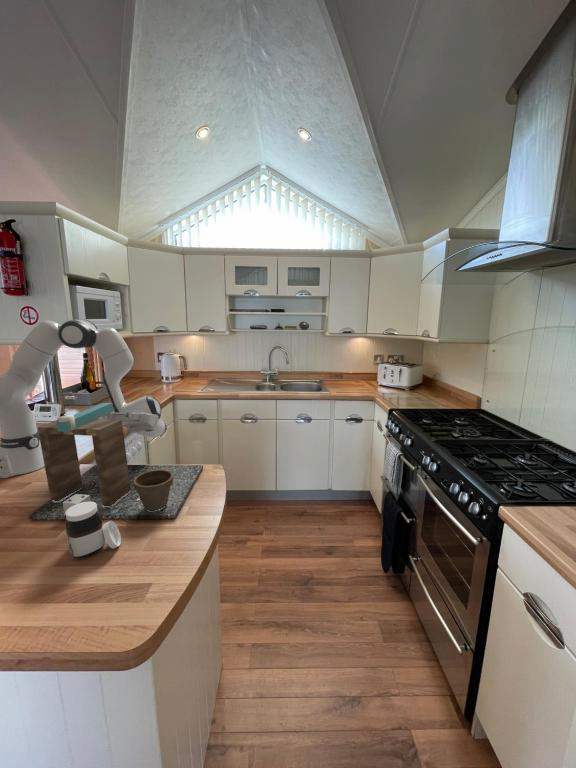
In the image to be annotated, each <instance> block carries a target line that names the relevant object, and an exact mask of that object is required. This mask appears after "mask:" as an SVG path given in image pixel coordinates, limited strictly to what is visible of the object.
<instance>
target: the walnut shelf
mask: <svg viewBox="0 0 576 768" xmlns="http://www.w3.org/2000/svg"><path fill="white" fill-rule="evenodd" d="M57 421H59V419H57V420H56V419H55V420H54V421H51V422H48V423H46V424H42V425H40V426H38V427H37V431H38V432H39V438H40V440H39V441H40V443H41V449H42V454H43V460H44V465H45V466H44V471H45V476H46V480H47V482H46V483H47V487H48V491H49V498H50V502H51V501H52V500H55V501H59V500H61V499H62V498H64V497H66V496H68V495H69V494H71V493H73V492H75V491H77V490H79V489H80V488H82V487H83V479H82V475H81V466H79V464H80V461H79V456H78V455H79V453H78V449H77V443H76V438H75V437H76V436H89V437H90V436H91V439H92V440H91V441H92V447H93V452H94V458H95V459H94V460H95V465H96V471H97V479H98V487H99V492H100V500H101V505H104V506H111V505H112V504H114V503H115V502H116V501H117V500H118V499H120V498H121V497H122V496H124V495H125V494H126V493H128V492H129V491H130V490H131V491H132V489H131V487H132V486H131V482H130V481H131V480H130V474H129V473H130V472H129V466H128V465H129V464H128V457H127V449H126V443H125V435H124V426H123V425H122V420H117V419H102V418H97V419H95V420H93V421H91V422H89V423H87V424H85V425H82V426H80V427H78V428H76V429H74V430H72V431H69V432H58V429H57V423H56V422H57ZM83 488H84V487H83Z"/></svg>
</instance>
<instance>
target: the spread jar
mask: <svg viewBox="0 0 576 768" xmlns="http://www.w3.org/2000/svg"><path fill="white" fill-rule="evenodd" d="M65 515H66V518H65V521H64V527H65V534H66V540H67V544H68V545H67V546H68V549H69V550H68V551H69V553H70V555H71V557H73V558H74V559H77V560H79V559H80V560H81V559H86V558H89V557H92V556H93V555H94V556H95V554H97V553H99V552H100V551H101V550H102V549H103V548H104V547H105V544H107V546H108V547H109V548H110V549H116V548H117V547H120V546H121V543H122V537H121V533H120V530H119V527H118V526H117V524H116V523H115V522H114V521H113V520H109V521H107V522H105V523H104V524H103V521H102V516H101V514H100V513H99V511H98V504H97V502H94V501H91V502H82V503H79V504H76V505H74V506H72V507H70V508H69V509H68V510H67V511H66V512H65V513H64V516H65Z"/></svg>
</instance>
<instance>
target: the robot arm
mask: <svg viewBox="0 0 576 768" xmlns="http://www.w3.org/2000/svg"><path fill="white" fill-rule="evenodd" d="M64 345H65V346H66V347H68V348H71V349H85V348H94V349H95V350H96V351H97V353H98V354H99V356H100V358H101V359H102V362H103V365H104V371H103V374H102V378H103V382H104V387H105V388H106V392H107V393H108V394H107V395H108V396H109V399H110V403H113V410H114V411H113V412H110V413H108V414H106V415H104V416H102V417H101V419H117V420H122V426H123V427H125V428H126V430H127V431H129V432H130V433H133V434H136V435H141V436H143V437H147V438H152V439H155V438H158V437H160V436H162V435H163V434H164V432H165V430H166V425H165V422H164V421H163V420H162V418H161V416H162V407H161V403H160V402H159V400H158V399H157V398H155V397H154V396H152V395H149V394H148V395H144V396H142V397H139V398H137V399H135V400H133V401H130V402H126V401H125V398H124V395H123V393H122V389H121V387H120V382H121V381H122V379H123V378H124V377H125V376H126V375H127V374H128V373H129V371H131V370H132V368H133V366H134V362H135V361H134V359H135V358H134V355H133V354H132V351H131V350H130V348H129V347H128V344H127V343H126V341H125V340H124V338H123V337H122V336H121V334H120V333H119V332H118V331H117V330H116V328H113V327H102V328H99V329H98V327H97V325H95V323H93V322H92V321H90V320H87V319H80V318H79V319H78V318H76V319H72V320H68V321H65V322H63V323H62V324H60V323H58V322H56V321H54V320H48V319H46V320H42V321H40V322H39V323H38V324H36V325H35V326H34V327H33V328H32V329H31V330H30V332H29V333H28V334H27V335H26V336H25V337H24V339H23V341H22V342H21V343H20V345H19V346H18V347H17V349H16V350H15V352H14V353H13V355H12V357H11V358H12V359H11V362H10V365H9V367H8V369H7V370H6V371H5V372H4V373H3V374H0V433H1V436H2V437H0V478H1V479H2V478H3V479H6V478H11V477H14V476H19V475H25V474H28V473H31V472H35V471H37V470H40V469H42V468H45V465H44V460H43V454H42V449H41V443H40V438H39V432H38V427H37V422H36V418H35V413H34V412H33V410H31V409H30V407H29V405H28V403H27V401H26V397H27V396H30V395H31V394H32V393H33V392H34V391H35V389H36V388H37V386H38V385H37V384H39V381H40V379H41V377H42V375H43V373H44V371H45V370H46V368H47V366H48V365H49V364H50V363H51V361H52V360H53V358H54V357H55V355H56V354H57V353H58V351H59V350H60V349H61V348H62V347H63V346H64Z"/></svg>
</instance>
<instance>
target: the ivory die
mask: <svg viewBox="0 0 576 768" xmlns="http://www.w3.org/2000/svg"><path fill="white" fill-rule="evenodd" d="M91 500H92V499H91V495H90V494H81V493H80V494H79V493H75V494H74V495H72V496H71V497H69V498H67V499H66V500H64V501H63V502H62V505H63V511H64V514H65V512H66V511H67V510H68V509H69V508H70V507H72V506H74V505H76V504H79V503H82V502H92V501H91Z"/></svg>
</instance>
